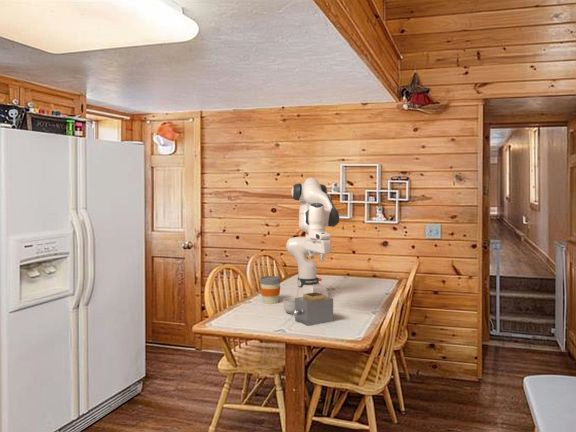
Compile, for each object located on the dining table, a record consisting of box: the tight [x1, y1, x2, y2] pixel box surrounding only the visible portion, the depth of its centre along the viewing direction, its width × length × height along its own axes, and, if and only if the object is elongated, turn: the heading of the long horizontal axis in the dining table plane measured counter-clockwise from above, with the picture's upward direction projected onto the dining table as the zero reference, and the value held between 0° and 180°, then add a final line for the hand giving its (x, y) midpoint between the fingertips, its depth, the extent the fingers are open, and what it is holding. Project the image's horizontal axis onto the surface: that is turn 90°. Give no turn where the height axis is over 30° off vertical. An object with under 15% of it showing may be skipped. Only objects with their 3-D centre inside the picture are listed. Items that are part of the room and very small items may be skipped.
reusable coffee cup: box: [259, 275, 282, 305], centre depth 312 cm, size 13×13×15 cm
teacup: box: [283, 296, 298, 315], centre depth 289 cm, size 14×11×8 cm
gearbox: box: [292, 292, 334, 327], centre depth 270 cm, size 19×12×14 cm, turn 120°
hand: (316, 260), depth 274 cm, fingers open, 8 cm apart
